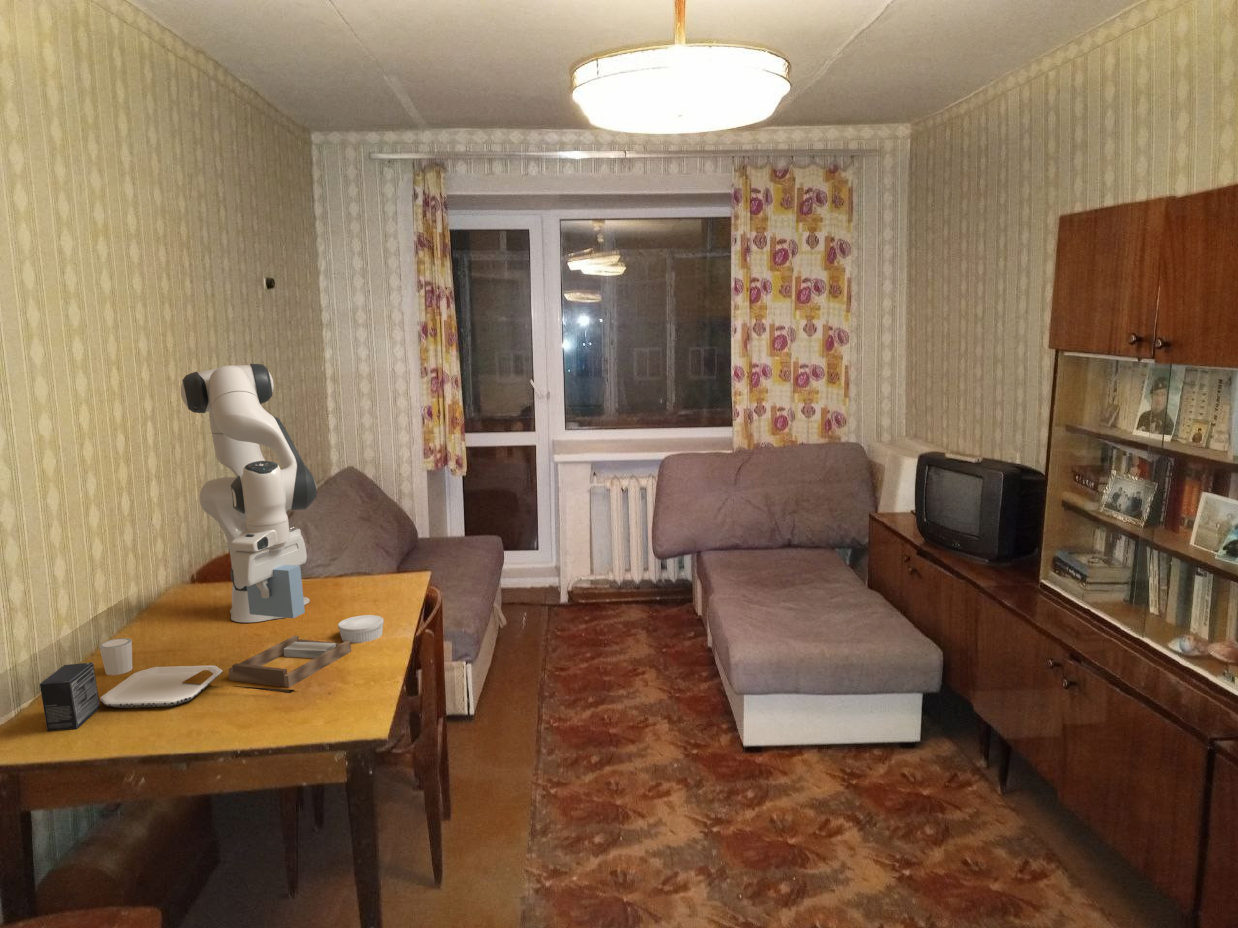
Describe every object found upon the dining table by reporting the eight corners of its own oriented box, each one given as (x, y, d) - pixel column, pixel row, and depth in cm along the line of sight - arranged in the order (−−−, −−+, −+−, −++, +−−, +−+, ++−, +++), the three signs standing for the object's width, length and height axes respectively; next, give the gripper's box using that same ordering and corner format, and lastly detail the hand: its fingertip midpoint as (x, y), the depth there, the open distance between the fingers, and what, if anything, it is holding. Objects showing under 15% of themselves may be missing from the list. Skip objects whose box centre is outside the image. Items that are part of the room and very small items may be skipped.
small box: (70, 710, 201) (63, 663, 199) (101, 707, 202) (95, 661, 200) (44, 731, 191) (37, 682, 189) (77, 729, 191) (71, 680, 190)
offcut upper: (295, 649, 229) (295, 641, 229) (336, 651, 226) (335, 643, 226) (284, 656, 224) (283, 648, 224) (325, 658, 222) (324, 650, 221)
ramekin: (352, 633, 244) (350, 613, 243) (392, 634, 241) (391, 614, 240) (331, 648, 233) (329, 628, 232) (373, 650, 230) (371, 629, 230)
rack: (297, 650, 232) (295, 630, 231) (353, 656, 226) (351, 636, 226) (230, 685, 211) (227, 664, 210) (289, 693, 205) (287, 671, 204)
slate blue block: (261, 608, 217) (256, 562, 215) (304, 612, 213) (300, 565, 211) (249, 614, 213) (244, 567, 211) (293, 618, 209) (288, 570, 207)
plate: (143, 675, 220) (142, 666, 220) (229, 673, 219) (228, 664, 219) (92, 713, 200) (90, 703, 199) (187, 710, 199) (186, 700, 199)
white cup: (141, 666, 225) (138, 638, 224) (118, 677, 219) (114, 648, 218) (119, 664, 228) (116, 636, 226) (95, 674, 221) (92, 646, 220)
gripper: (288, 522, 221) (293, 579, 223) (224, 544, 202) (231, 606, 204) (310, 524, 218) (316, 581, 221) (248, 546, 199) (255, 608, 202)
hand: (275, 593), depth 212 cm, fingers closed on slate blue block, 4 cm apart
